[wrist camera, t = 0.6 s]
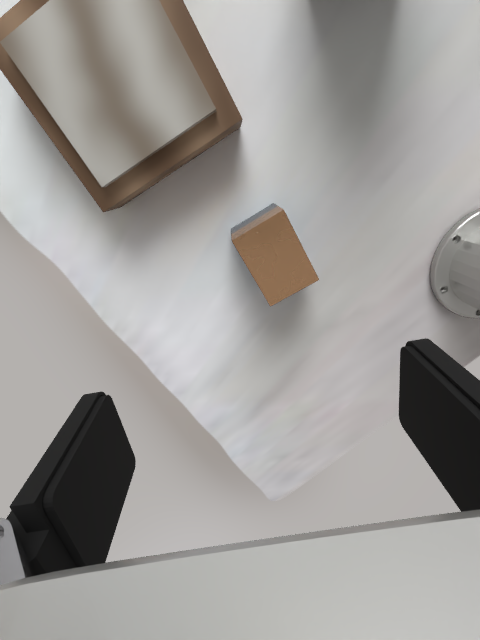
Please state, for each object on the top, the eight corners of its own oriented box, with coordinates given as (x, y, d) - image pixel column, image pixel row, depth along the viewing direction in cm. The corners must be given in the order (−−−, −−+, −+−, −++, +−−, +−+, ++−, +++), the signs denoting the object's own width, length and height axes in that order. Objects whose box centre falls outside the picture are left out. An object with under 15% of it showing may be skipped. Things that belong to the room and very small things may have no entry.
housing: (273, 203, 34) (283, 209, 28) (303, 261, 37) (319, 279, 30) (231, 228, 35) (231, 240, 29) (263, 283, 38) (270, 306, 31)
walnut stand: (150, -50, 26) (129, -109, 21) (240, 127, 31) (242, 116, 26) (17, 59, 29) (-33, 31, 23) (120, 207, 34) (99, 213, 28)
